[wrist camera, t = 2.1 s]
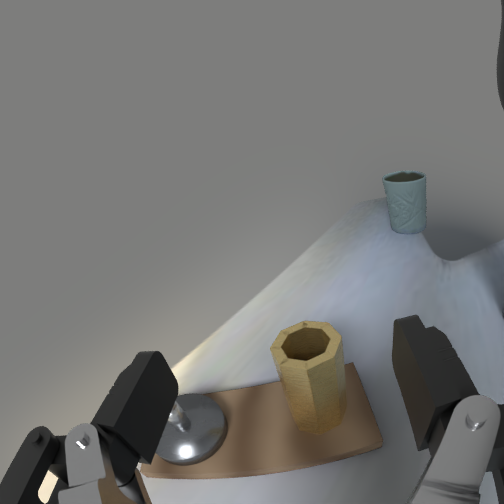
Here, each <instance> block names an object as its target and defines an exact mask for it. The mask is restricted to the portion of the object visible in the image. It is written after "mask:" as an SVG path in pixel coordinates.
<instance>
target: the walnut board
mask: <svg viewBox="0 0 504 504" xmlns="http://www.w3.org/2000/svg"><path fill="white" fill-rule="evenodd" d="M344 368H345V381H346V397H347V409H346V412H345V414H344V417H343V420H342V422H341V424H340V425H339V426H337V427H335V428H333V429H331V430H329V431H327V432H325V433H323V434H315V433H310V432H306V431H301V430H299V428H298V426H297V424H296V423H295V421H294V419H293V417H292V415H291V412H290V409H289V406H288V403H287V400H286V397H285V394H284V390H283V387H282V384H281V381H278V382H274V383H269V384H264V385H258V386H253V387H247V388H241V389H235V390H229V391H222V392H215V393H208V394H201V395H205V396H207V397H210V398H211V399H213V400H214V401H215V402H216V403H217V404H218V405H219V407H220V408H221V410H222V412H223V413H224V415H225V417H226V419H227V423H228V432H227V436H226V439H225V441H224V443H223V445H222V446H221V448H220V449H219V450H218V451H217V452H216V453H215V454H214V455H213V456H211V457H210V458H208V459H207V460H205V461H203V462H201V463H198V464H194V465H189V466H178V465H173V464H170V463H168V462H166V461H164V460H163V459H161V458H160V457H159V456H158V455H157V454H156V453H155V455H154V458H153V460H152V463H151V465H150V464H144V463H142V465H141V470H140V472H141V473H142V474H144V475H145V476H146V477H152V478H168V479H219V478H235V477H247V476H257V475H265V474H272V473H279V472H286V471H291V470H297V469H302V468H307V467H312V466H317V465H321V464H325V463H329V462H333V461H337V460H341V459H345V458H348V457H352V456H355V455H359V454H362V453H365V452H368V451H371V450H374V449H377V448H380V447H382V443H383V439H382V436H381V434H380V431H379V428H378V425H377V423H376V420H375V417H374V415H373V412H372V409H371V407H370V404H369V401H368V399H367V396H366V394H365V391H364V389H363V386H362V383H361V381H360V378H359V376H358V373H357V371H356V368H355V366H354V364H353V362H352V363H349V364H346V365H344Z"/></svg>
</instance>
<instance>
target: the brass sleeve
mask: <svg viewBox="0 0 504 504" xmlns="http://www.w3.org/2000/svg"><path fill="white" fill-rule="evenodd" d="M270 350H271V353H272V356H273V360H274V363H275V366H276V369H277V372H278V375H279V378H280V381H281V384H282V387H283V390H284V394H285V397H286V400H287V403H288V406H289V409H290V412H291V415H292V417H293V419H294V421H295V423H296V424H297V426H298V428H299V430H301V431H306V432H310V433H315V434H323V433H325V432H327V431H329V430H331V429H333V428H335V427H337V426H339V425H340V424H341V422H342V420H343V417H344V414H345V412H346V409H347V397H346V381H345V368H344V356H343V346H342V336H341V335H340V334H339V333H338V332H337V331H336V330H335V329H334V328H333V327H332V326H331V325H330V324H329V323H327V322H313V321H303V322H300V323H298V324H296V325H293V326H291V327H289V328H286V329H284V330H281V331H280V333H279V335H278V336H277V338H276V339H275V341H274V343H273V344H272V346H271V347H270Z"/></svg>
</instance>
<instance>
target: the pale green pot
mask: <svg viewBox="0 0 504 504" xmlns="http://www.w3.org/2000/svg"><path fill="white" fill-rule="evenodd" d="M382 180H383V185H384V189H385V193H386V195H387V204H388V209H389V215H390V221H391V227H392V229H393V230H394V231H395V232H397V233H401V234H414V233H419V232H421V231H423V230H424V229H425V228H426V175H425V174H424V173H422V172H418V171H398V172H393V173H390V174H387V175H385V176H383V178H382Z"/></svg>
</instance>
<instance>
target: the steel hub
mask: <svg viewBox="0 0 504 504" xmlns="http://www.w3.org/2000/svg"><path fill="white" fill-rule="evenodd" d="M227 432H228V423H227V419H226V417H225V415H224V413H223V412H222V410H221V408H220V407H219V405H218V404H217V403H216V402H215V401H214V400H213V399H211V398H210V397H207V396H205V395H201V394H184V395H180V396H177V398H176V401H175V403H174V406H173V408H172V411H171V413H170V416H169V419H168V421H167V424H166V426H165V429H164V431H163V434H162V437H161V439H160V442H159V444H158V447H157V450H156V452H155V453H156V454H157V455H158V456H159V457H160V458H161V459H163V460H164V461H166V462H168V463H170V464H173V465H178V466H189V465H194V464H198V463H201V462H203V461H205V460H207V459H208V458H210V457H211V456H213V455H214V454H215V453H216V452H217V451H218V450H219V449H220V448H221V446H222V445H223V443H224V441H225V439H226V436H227Z"/></svg>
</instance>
